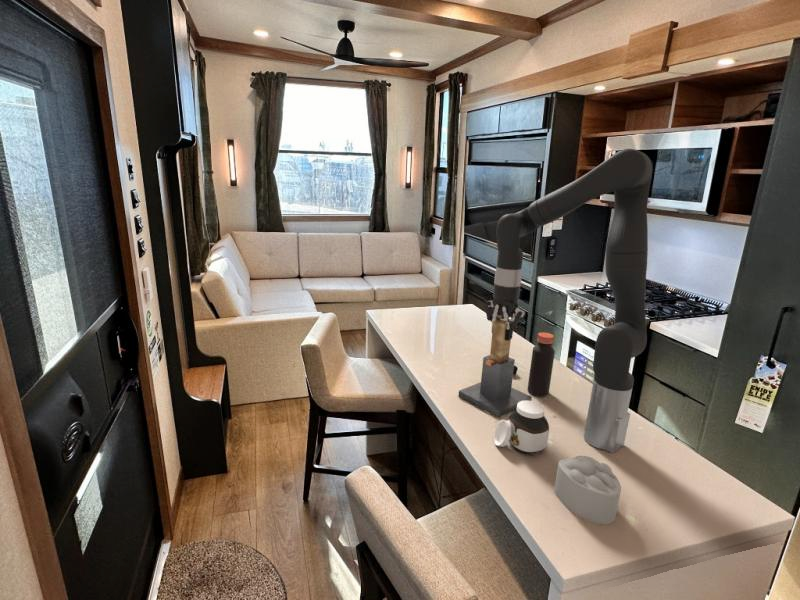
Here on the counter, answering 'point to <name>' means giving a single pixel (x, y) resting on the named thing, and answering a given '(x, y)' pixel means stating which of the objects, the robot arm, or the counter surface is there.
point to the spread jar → (524, 428)
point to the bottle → (541, 365)
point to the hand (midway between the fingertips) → (501, 337)
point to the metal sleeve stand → (495, 389)
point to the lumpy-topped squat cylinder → (588, 489)
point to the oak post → (499, 342)
